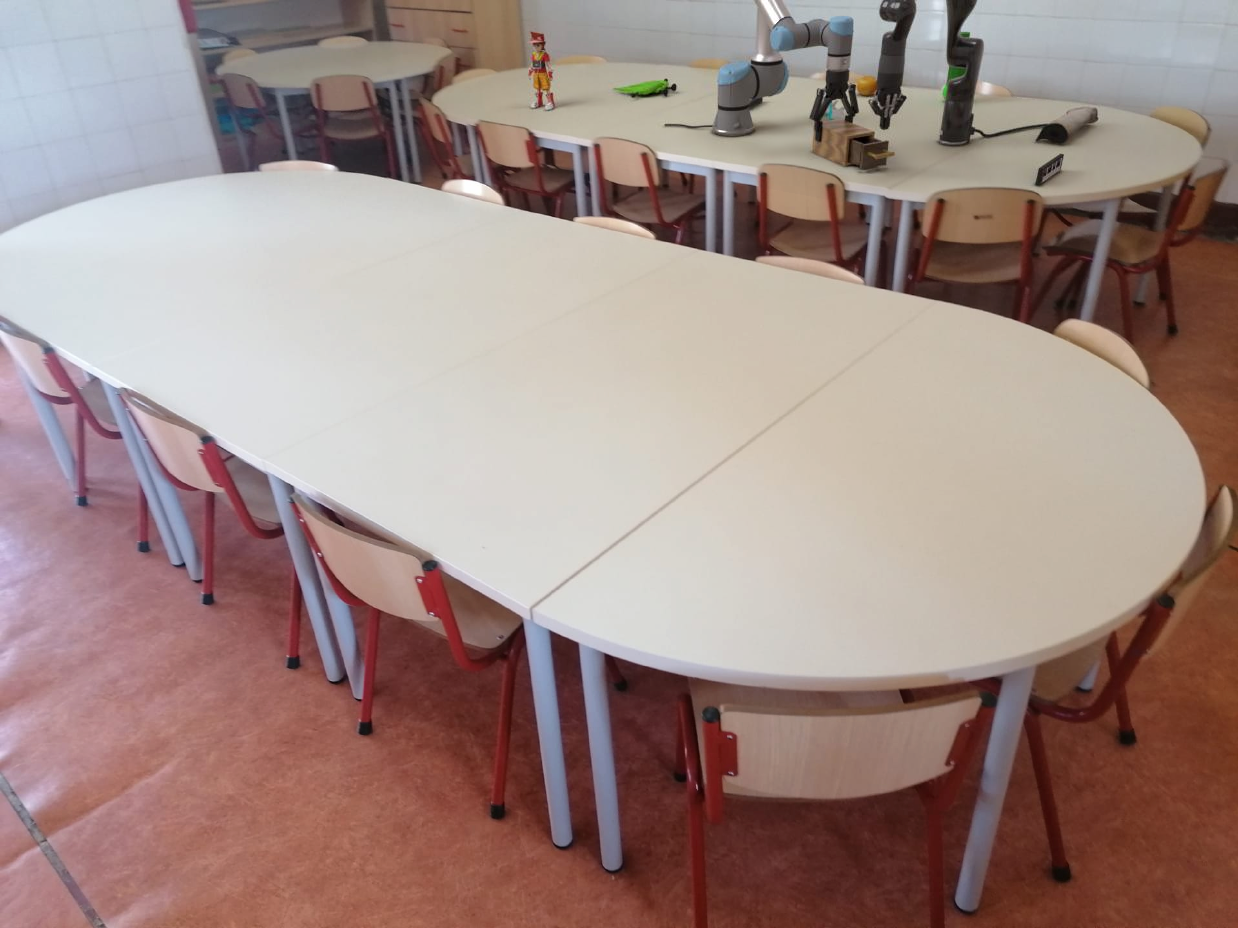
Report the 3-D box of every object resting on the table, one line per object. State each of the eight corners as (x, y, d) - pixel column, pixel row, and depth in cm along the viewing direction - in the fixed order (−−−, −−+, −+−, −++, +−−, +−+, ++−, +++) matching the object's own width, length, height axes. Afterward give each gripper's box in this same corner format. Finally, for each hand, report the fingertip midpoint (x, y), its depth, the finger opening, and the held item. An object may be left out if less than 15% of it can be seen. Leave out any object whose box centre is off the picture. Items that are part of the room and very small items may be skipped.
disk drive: (747, 111, 360) (763, 102, 370) (747, 104, 359) (763, 95, 369) (724, 109, 365) (740, 100, 375) (724, 101, 363) (740, 93, 373)
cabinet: (871, 161, 298) (874, 131, 292) (844, 166, 295) (847, 136, 289) (838, 147, 313) (840, 118, 308) (811, 151, 310) (813, 123, 305)
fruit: (851, 87, 368) (863, 69, 365) (853, 91, 376) (865, 73, 373) (868, 99, 367) (880, 81, 364) (870, 102, 374) (882, 84, 371)
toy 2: (686, 85, 398) (631, 84, 414) (685, 72, 395) (629, 72, 411) (651, 104, 381) (596, 103, 397) (650, 92, 378) (594, 91, 394)
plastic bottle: (973, 101, 354) (984, 32, 339) (955, 106, 349) (966, 36, 335) (952, 97, 361) (962, 29, 346) (934, 102, 356) (944, 33, 342)
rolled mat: (1064, 112, 323) (1089, 94, 314) (1078, 133, 323) (1104, 116, 315) (1031, 135, 305) (1057, 117, 297) (1046, 157, 306) (1072, 140, 298)
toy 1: (525, 109, 381) (517, 32, 364) (534, 104, 388) (527, 28, 371) (550, 110, 377) (543, 32, 360) (559, 105, 384) (553, 28, 367)
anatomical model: (812, 91, 345) (837, 84, 345) (815, 118, 351) (840, 111, 351) (822, 101, 333) (849, 93, 332) (825, 128, 339) (851, 121, 338)
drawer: (896, 169, 286) (899, 145, 282) (871, 174, 283) (874, 149, 279) (853, 151, 305) (855, 128, 300) (829, 155, 302) (831, 132, 298)
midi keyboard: (1039, 185, 269) (1043, 168, 266) (1035, 184, 270) (1038, 168, 267) (1060, 170, 279) (1064, 154, 277) (1056, 169, 280) (1060, 153, 277)
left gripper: (813, 76, 287) (809, 146, 300) (874, 66, 294) (867, 136, 306) (801, 72, 293) (797, 141, 306) (861, 63, 300) (854, 131, 312)
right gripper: (879, 75, 265) (873, 135, 275) (917, 69, 268) (909, 129, 278) (865, 70, 271) (859, 129, 280) (901, 65, 274) (894, 123, 284)
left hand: (832, 138), depth 306 cm, fingers closed on cabinet, 11 cm apart
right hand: (884, 129), depth 279 cm, fingers closed
